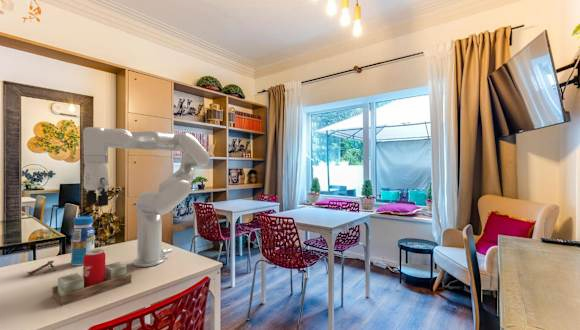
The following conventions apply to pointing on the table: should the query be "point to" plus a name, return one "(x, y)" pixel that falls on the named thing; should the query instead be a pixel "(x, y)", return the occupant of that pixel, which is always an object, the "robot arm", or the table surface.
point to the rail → (74, 289)
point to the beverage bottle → (82, 239)
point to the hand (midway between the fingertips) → (97, 204)
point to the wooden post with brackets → (42, 268)
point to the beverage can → (94, 267)
